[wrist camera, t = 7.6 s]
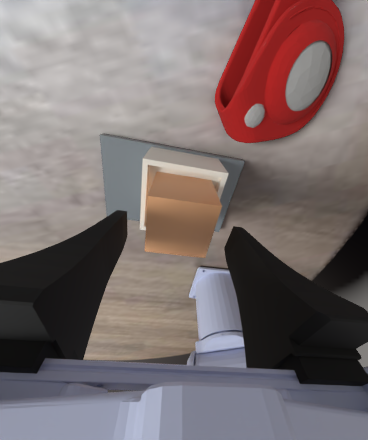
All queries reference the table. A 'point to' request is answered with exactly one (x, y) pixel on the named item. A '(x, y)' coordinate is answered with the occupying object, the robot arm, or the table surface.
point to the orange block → (181, 215)
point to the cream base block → (178, 171)
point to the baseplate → (132, 174)
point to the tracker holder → (280, 68)
